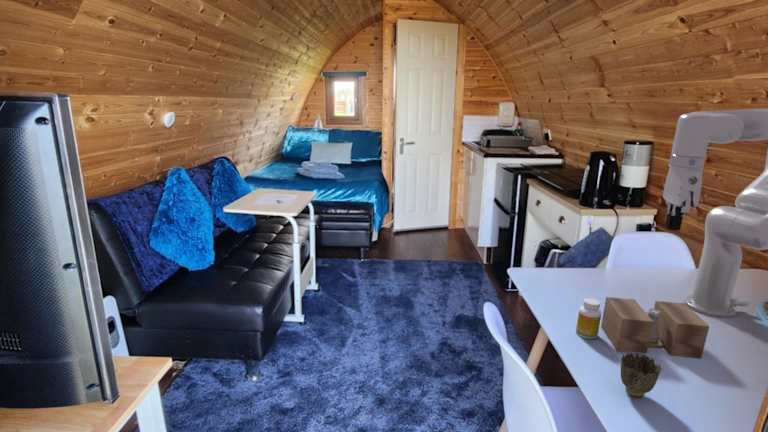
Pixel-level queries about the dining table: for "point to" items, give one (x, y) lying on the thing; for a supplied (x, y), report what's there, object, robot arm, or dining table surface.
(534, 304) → the dining table surface
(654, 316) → the rook chess piece
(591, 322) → the supplement bottle
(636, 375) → the cup
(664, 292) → the dining table surface
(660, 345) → the gold metallic block
